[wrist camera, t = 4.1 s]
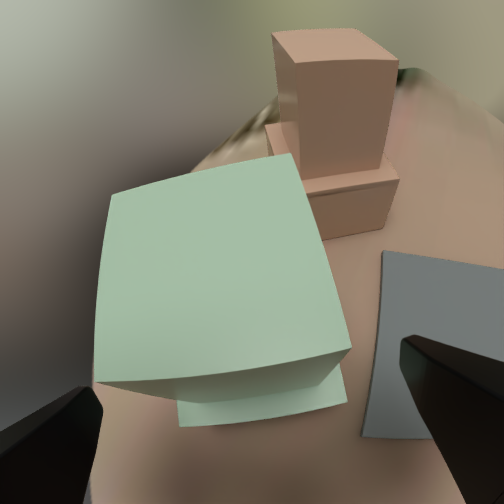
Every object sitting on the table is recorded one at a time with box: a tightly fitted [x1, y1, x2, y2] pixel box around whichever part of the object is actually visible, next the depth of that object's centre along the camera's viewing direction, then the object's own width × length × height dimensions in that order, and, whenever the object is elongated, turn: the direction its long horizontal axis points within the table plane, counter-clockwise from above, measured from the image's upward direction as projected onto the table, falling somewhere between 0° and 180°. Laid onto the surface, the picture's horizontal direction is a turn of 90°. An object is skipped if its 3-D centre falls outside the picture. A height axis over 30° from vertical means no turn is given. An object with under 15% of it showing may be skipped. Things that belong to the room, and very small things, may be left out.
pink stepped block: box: [265, 28, 400, 240], centre depth 17 cm, size 7×7×12 cm
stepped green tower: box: [94, 153, 352, 427], centre depth 12 cm, size 7×7×12 cm
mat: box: [360, 250, 504, 439], centre depth 15 cm, size 12×12×1 cm
